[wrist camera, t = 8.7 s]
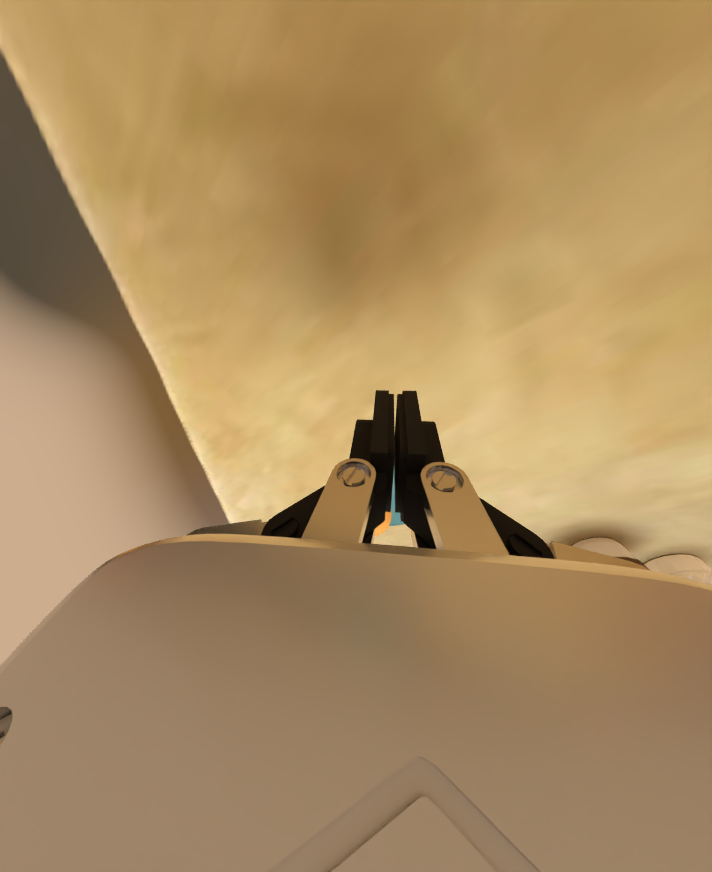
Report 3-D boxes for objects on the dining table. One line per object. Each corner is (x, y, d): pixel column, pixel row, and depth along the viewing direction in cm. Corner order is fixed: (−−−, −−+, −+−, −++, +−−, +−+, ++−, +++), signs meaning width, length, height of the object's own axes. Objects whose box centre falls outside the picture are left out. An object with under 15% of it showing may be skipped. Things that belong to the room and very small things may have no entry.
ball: (389, 547, 30) (385, 530, 36) (397, 502, 30) (392, 492, 36) (344, 538, 30) (347, 523, 36) (352, 494, 30) (354, 485, 36)
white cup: (622, 568, 40) (680, 649, 32) (678, 545, 35) (762, 634, 27) (660, 581, 41) (725, 662, 33) (719, 560, 36) (812, 650, 28)
